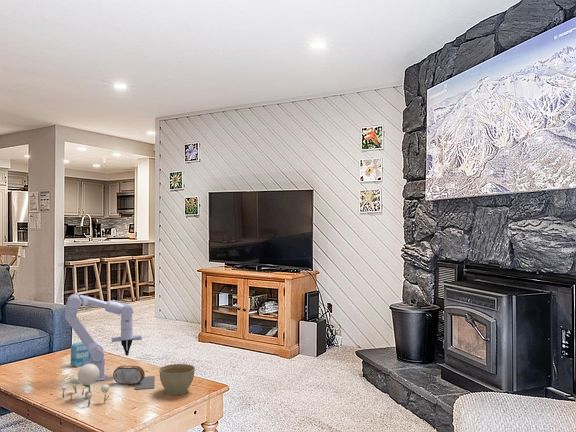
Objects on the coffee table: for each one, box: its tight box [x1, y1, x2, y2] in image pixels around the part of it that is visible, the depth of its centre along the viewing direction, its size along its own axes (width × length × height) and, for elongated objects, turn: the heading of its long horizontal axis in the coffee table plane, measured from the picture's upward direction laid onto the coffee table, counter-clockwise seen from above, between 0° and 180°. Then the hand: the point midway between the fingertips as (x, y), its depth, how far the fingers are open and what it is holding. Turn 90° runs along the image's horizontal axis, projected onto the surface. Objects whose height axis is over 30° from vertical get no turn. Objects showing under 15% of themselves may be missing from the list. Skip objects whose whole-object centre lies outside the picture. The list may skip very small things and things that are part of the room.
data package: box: [70, 341, 91, 368], centre depth 264 cm, size 12×4×12 cm, turn 143°
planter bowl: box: [158, 363, 196, 396], centre depth 223 cm, size 16×16×11 cm
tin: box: [112, 365, 146, 385], centre depth 233 cm, size 15×3×8 cm, turn 84°
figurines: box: [61, 364, 110, 407], centre depth 212 cm, size 25×12×15 cm, turn 58°
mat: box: [134, 375, 156, 391], centre depth 235 cm, size 9×18×1 cm, turn 15°
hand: (127, 355), depth 246 cm, fingers closed
